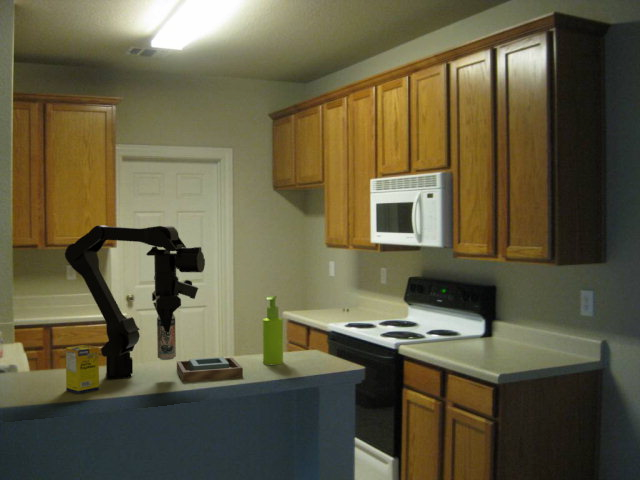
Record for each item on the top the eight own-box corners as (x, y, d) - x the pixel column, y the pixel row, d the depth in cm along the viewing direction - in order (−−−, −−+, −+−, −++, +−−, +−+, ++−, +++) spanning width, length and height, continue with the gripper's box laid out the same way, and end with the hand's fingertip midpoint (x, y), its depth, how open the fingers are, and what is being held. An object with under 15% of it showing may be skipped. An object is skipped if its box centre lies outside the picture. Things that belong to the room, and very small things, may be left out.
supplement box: (99, 389, 173) (99, 346, 172) (77, 394, 168) (77, 350, 168) (87, 386, 177) (86, 344, 176) (65, 390, 172) (64, 347, 172)
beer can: (157, 360, 182) (157, 315, 181) (157, 357, 186) (156, 313, 186) (176, 359, 183) (175, 315, 183) (175, 356, 188) (174, 312, 187)
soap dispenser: (260, 365, 200) (259, 297, 200) (266, 360, 207) (265, 294, 206) (279, 366, 199) (278, 297, 198) (285, 361, 206) (284, 295, 205)
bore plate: (193, 377, 184) (193, 366, 184) (189, 369, 193) (189, 359, 193) (229, 374, 187) (229, 363, 187) (223, 367, 196) (223, 356, 196)
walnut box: (183, 381, 181) (182, 372, 180) (176, 370, 195) (176, 361, 195) (242, 377, 185) (242, 367, 185) (232, 365, 200) (232, 357, 200)
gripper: (200, 273, 177) (201, 333, 178) (191, 269, 195) (192, 323, 196) (156, 275, 174) (157, 336, 175) (151, 270, 192) (152, 325, 192)
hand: (166, 330), depth 184 cm, fingers closed on beer can, 5 cm apart
